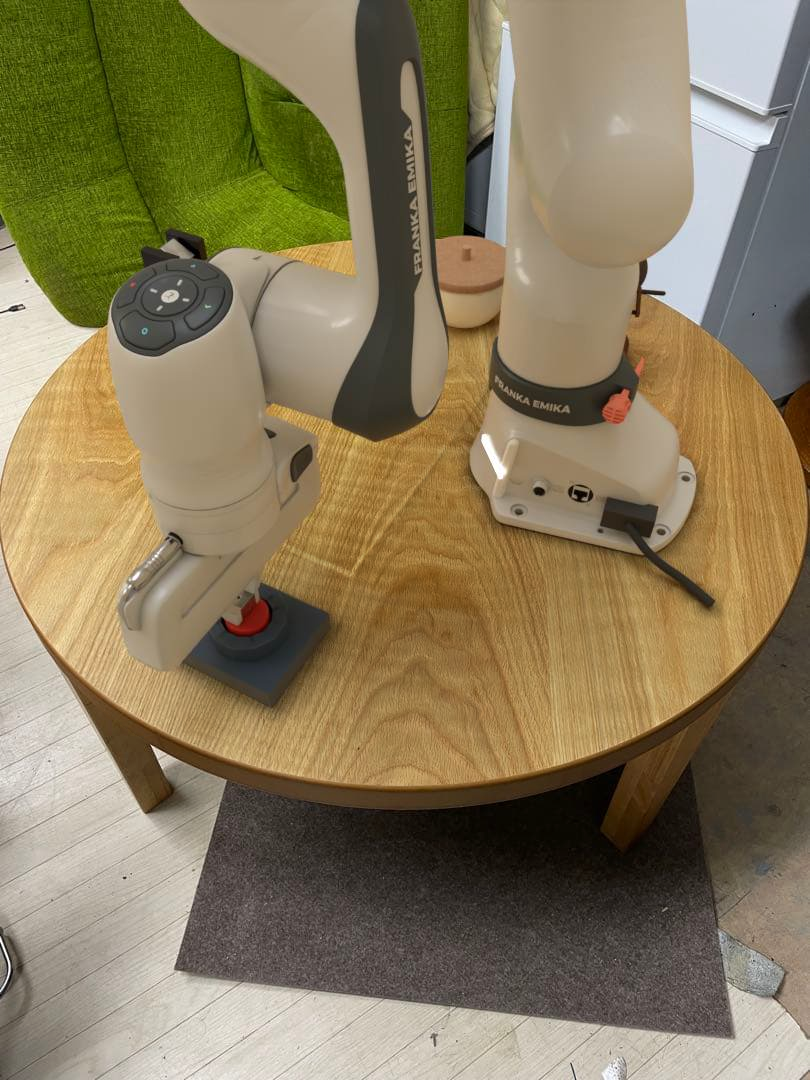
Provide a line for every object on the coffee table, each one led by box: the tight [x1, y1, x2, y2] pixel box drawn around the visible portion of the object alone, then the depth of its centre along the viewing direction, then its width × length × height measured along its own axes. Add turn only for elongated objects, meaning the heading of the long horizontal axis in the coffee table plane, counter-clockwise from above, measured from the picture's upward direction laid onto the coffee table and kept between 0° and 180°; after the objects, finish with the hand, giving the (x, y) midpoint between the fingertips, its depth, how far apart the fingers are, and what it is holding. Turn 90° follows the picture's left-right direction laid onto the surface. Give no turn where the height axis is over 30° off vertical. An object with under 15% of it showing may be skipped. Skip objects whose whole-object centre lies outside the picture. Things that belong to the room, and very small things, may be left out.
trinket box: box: [436, 235, 506, 329], centre depth 101 cm, size 11×11×9 cm
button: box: [225, 599, 271, 637], centre depth 71 cm, size 4×4×2 cm
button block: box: [181, 581, 331, 709], centre depth 72 cm, size 10×9×4 cm
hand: (241, 610), depth 71 cm, fingers closed, pressing on button
